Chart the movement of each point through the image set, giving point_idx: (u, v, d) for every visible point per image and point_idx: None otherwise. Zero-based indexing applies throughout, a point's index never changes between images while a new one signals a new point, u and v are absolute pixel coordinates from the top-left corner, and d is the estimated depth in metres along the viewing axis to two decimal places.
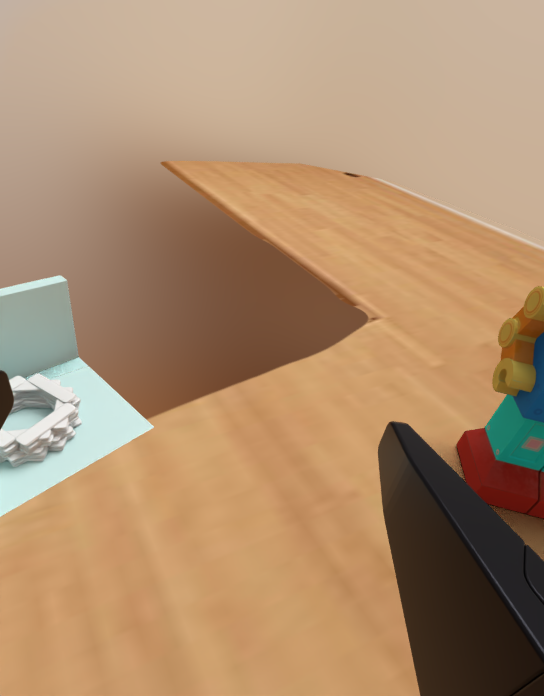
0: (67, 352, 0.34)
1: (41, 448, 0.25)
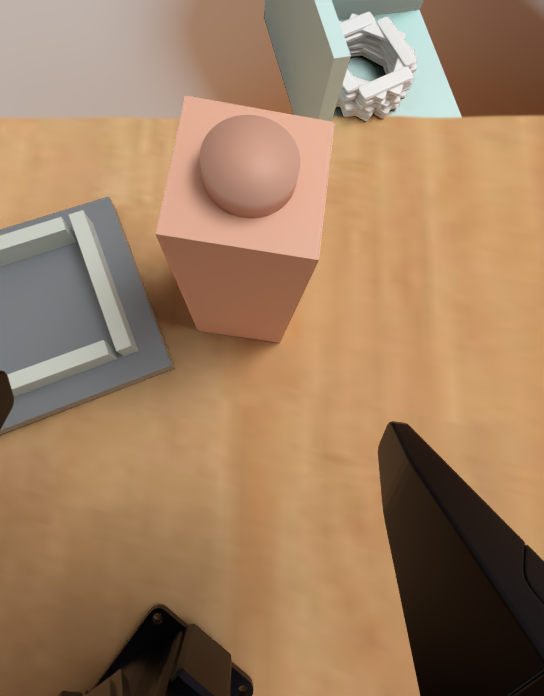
0: None
1: (371, 108, 0.27)
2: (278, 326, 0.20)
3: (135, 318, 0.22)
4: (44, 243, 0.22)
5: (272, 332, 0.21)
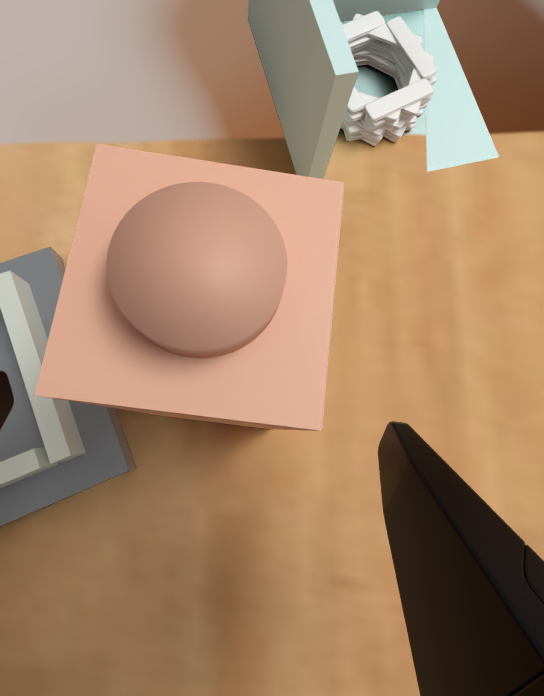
0: None
1: (381, 130, 0.21)
2: None
3: (82, 408, 0.17)
4: None
5: (260, 427, 0.16)
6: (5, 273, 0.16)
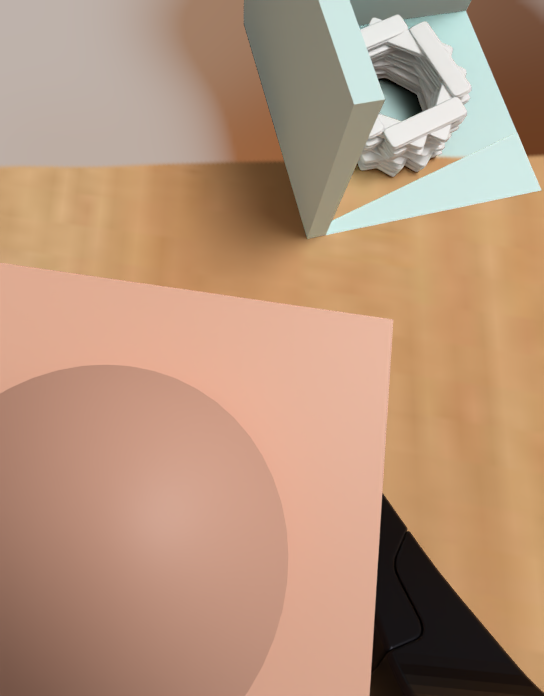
0: None
1: (403, 159, 0.18)
2: None
3: None
4: None
5: None
6: None
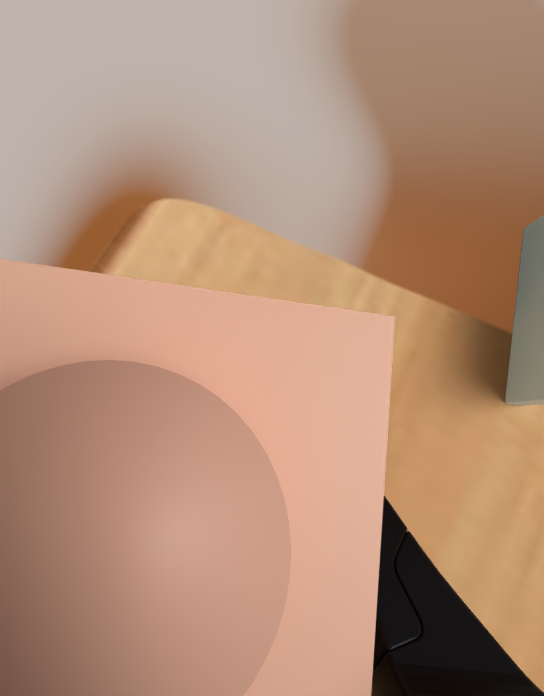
0: None
1: None
2: None
3: None
4: None
5: None
6: None
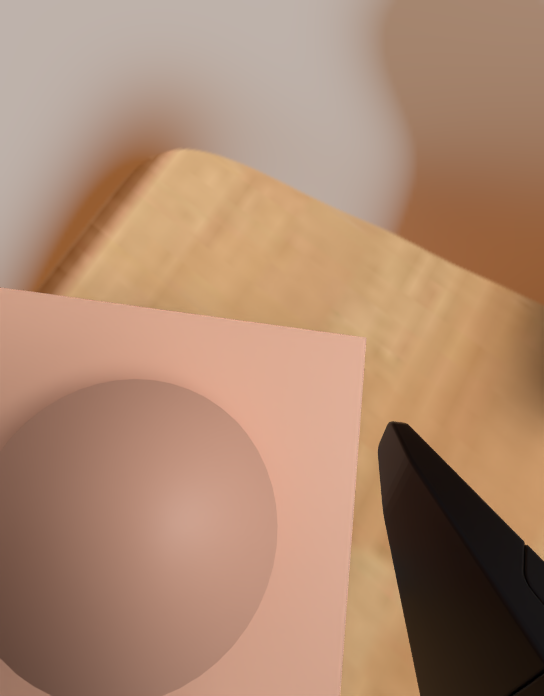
0: None
1: None
2: None
3: None
4: None
5: None
6: None
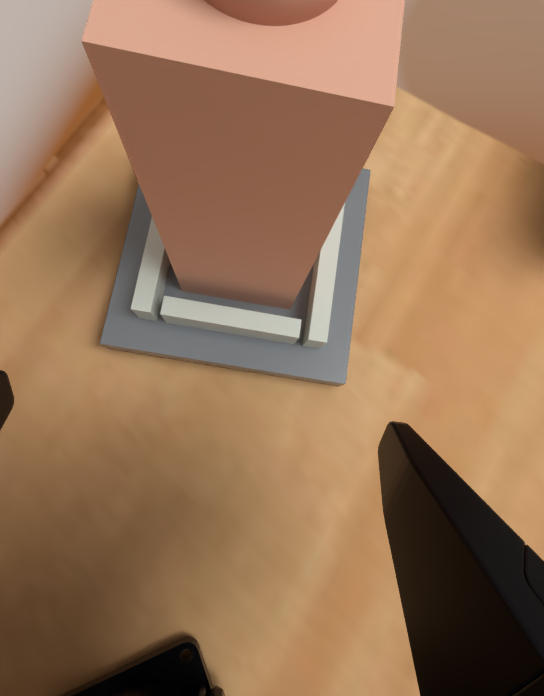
0: None
1: None
2: (292, 280, 0.14)
3: (333, 312, 0.18)
4: None
5: (282, 291, 0.16)
6: None
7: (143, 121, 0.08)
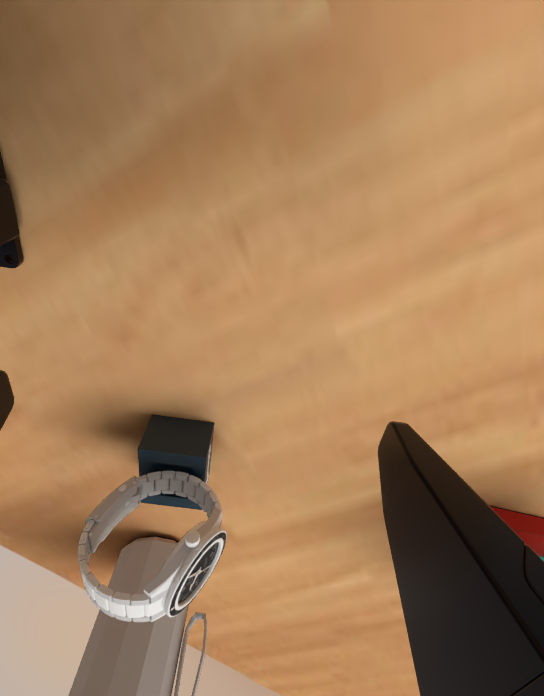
0: None
1: None
2: None
3: None
4: None
5: None
6: None
7: None
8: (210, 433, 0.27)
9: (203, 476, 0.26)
